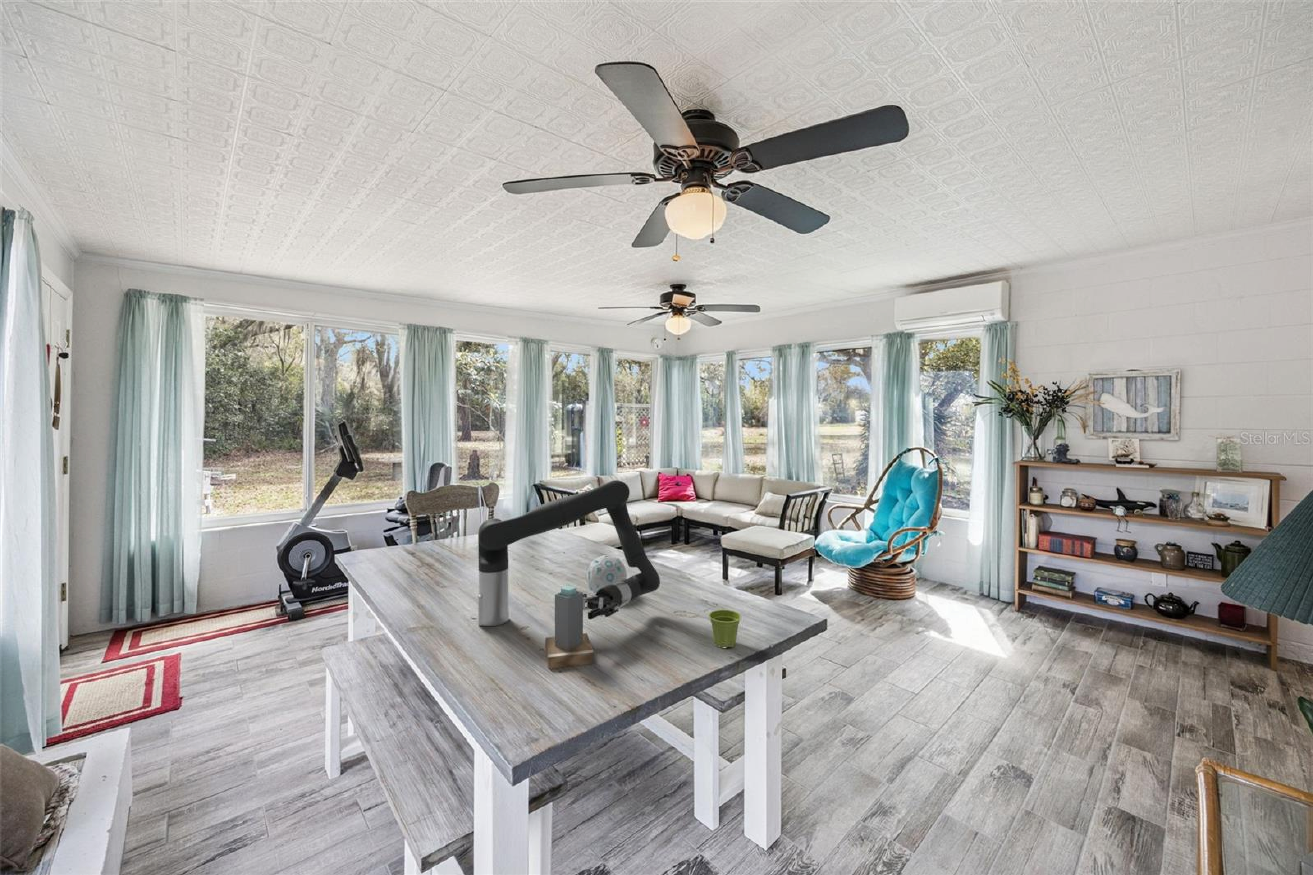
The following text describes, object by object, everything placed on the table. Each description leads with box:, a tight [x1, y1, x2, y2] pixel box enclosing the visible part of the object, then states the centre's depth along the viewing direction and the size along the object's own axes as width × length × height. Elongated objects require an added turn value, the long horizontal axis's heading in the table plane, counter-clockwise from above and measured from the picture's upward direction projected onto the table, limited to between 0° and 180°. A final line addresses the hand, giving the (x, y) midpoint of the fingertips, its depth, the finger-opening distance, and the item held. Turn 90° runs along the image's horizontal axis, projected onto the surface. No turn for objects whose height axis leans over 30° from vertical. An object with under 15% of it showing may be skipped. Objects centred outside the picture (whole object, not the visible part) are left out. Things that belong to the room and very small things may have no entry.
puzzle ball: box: [586, 554, 628, 595], centre depth 192 cm, size 15×15×15 cm
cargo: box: [560, 585, 577, 597], centre depth 143 cm, size 3×3×3 cm
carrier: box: [554, 589, 584, 651], centre depth 143 cm, size 6×5×14 cm
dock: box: [544, 632, 595, 670], centre depth 143 cm, size 12×13×3 cm
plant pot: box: [708, 609, 742, 648], centre depth 150 cm, size 9×9×9 cm
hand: (577, 612), depth 146 cm, fingers open, 8 cm apart
